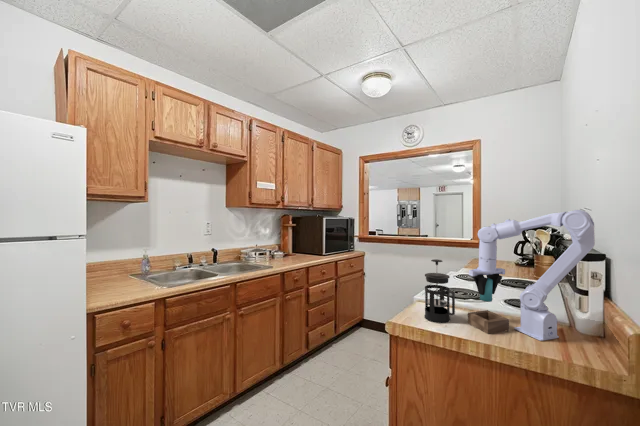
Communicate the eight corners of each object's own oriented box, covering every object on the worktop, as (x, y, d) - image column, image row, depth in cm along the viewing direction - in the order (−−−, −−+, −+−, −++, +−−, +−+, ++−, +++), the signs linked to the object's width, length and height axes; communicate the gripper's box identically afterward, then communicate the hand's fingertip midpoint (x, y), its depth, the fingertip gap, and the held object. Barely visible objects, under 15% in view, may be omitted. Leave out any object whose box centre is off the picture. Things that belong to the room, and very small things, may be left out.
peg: (494, 301, 105) (495, 280, 104) (485, 302, 104) (486, 280, 103) (486, 297, 108) (487, 277, 108) (477, 298, 108) (478, 277, 107)
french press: (418, 317, 110) (417, 259, 109) (429, 311, 116) (429, 256, 116) (448, 327, 101) (448, 263, 101) (459, 319, 108) (458, 260, 107)
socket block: (509, 330, 98) (509, 319, 98) (487, 333, 95) (487, 322, 95) (487, 320, 106) (487, 310, 106) (467, 323, 104) (467, 312, 104)
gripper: (494, 255, 111) (493, 289, 111) (463, 256, 108) (462, 291, 108) (510, 259, 104) (509, 294, 105) (477, 260, 101) (476, 297, 101)
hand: (486, 293), depth 106 cm, fingers closed on peg, 4 cm apart
